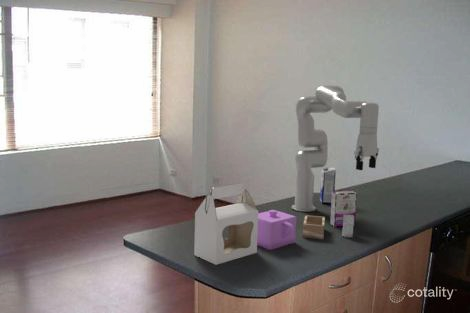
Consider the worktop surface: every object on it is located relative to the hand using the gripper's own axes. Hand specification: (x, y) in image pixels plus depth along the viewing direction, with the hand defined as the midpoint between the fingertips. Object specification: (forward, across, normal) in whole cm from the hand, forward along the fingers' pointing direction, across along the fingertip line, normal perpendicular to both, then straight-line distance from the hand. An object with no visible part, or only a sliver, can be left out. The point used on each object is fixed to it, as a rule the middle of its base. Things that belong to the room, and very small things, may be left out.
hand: (365, 168), depth 230 cm
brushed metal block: (+30, +7, -2) cm, 31 cm away
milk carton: (+30, -32, -46) cm, 64 cm away
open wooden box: (+30, +17, -14) cm, 37 cm away
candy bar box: (+30, -4, -14) cm, 34 cm away
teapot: (+31, +42, -17) cm, 55 cm away
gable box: (+31, +67, -17) cm, 75 cm away
